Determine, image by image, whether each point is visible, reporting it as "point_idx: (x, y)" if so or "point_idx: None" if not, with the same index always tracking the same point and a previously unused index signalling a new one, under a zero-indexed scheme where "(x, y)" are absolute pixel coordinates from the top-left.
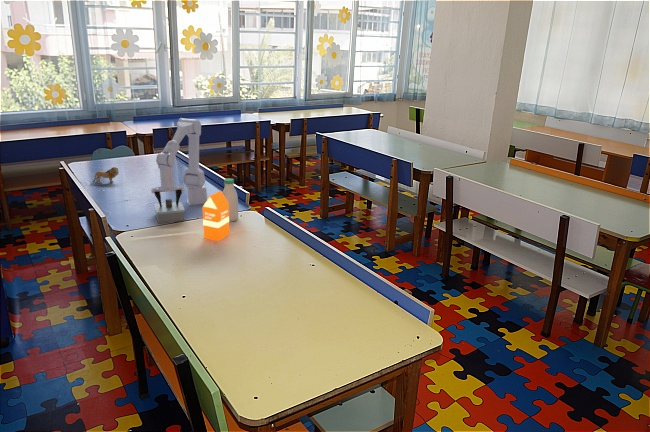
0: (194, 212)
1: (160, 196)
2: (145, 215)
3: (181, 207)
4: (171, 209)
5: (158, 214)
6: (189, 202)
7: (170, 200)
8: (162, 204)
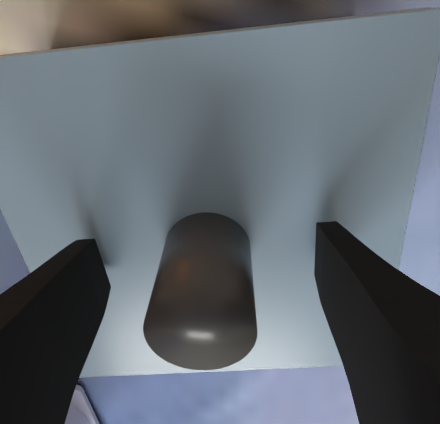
0: (9, 270)
1: (427, 360)
2: (417, 280)
3: (21, 188)
4: (168, 130)
5: None
6: (77, 415)
7: (162, 297)
8: (288, 329)
